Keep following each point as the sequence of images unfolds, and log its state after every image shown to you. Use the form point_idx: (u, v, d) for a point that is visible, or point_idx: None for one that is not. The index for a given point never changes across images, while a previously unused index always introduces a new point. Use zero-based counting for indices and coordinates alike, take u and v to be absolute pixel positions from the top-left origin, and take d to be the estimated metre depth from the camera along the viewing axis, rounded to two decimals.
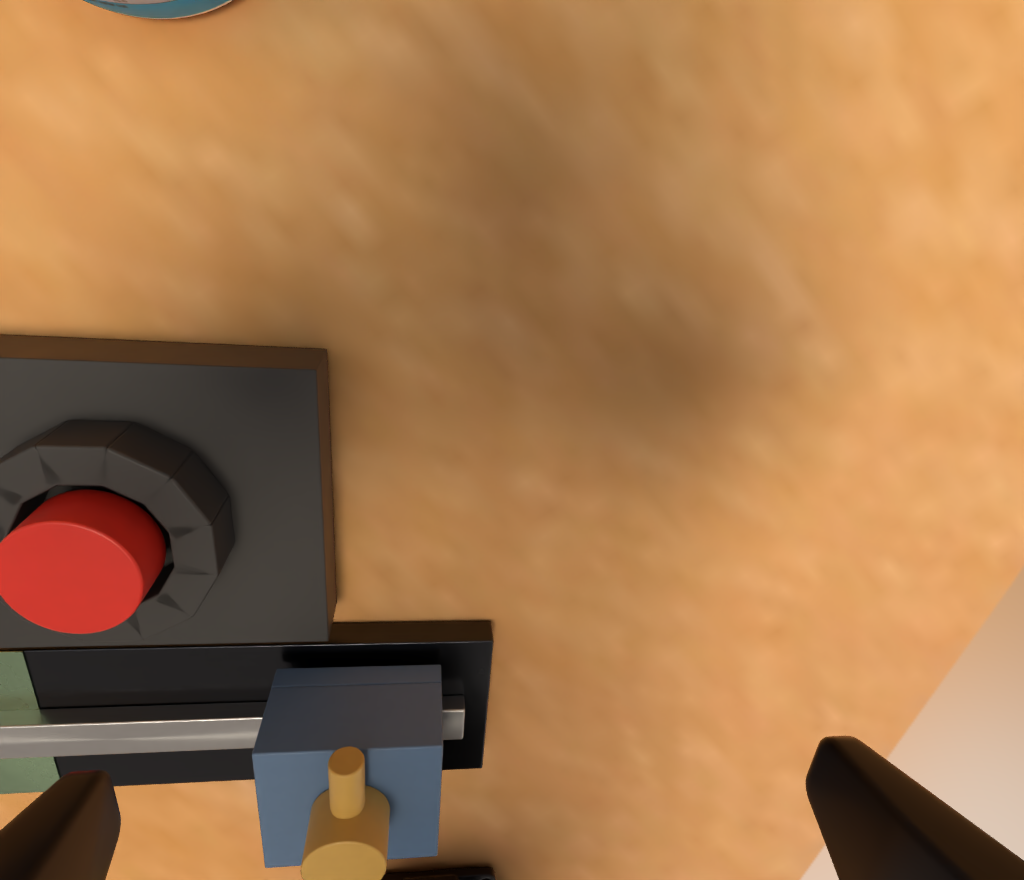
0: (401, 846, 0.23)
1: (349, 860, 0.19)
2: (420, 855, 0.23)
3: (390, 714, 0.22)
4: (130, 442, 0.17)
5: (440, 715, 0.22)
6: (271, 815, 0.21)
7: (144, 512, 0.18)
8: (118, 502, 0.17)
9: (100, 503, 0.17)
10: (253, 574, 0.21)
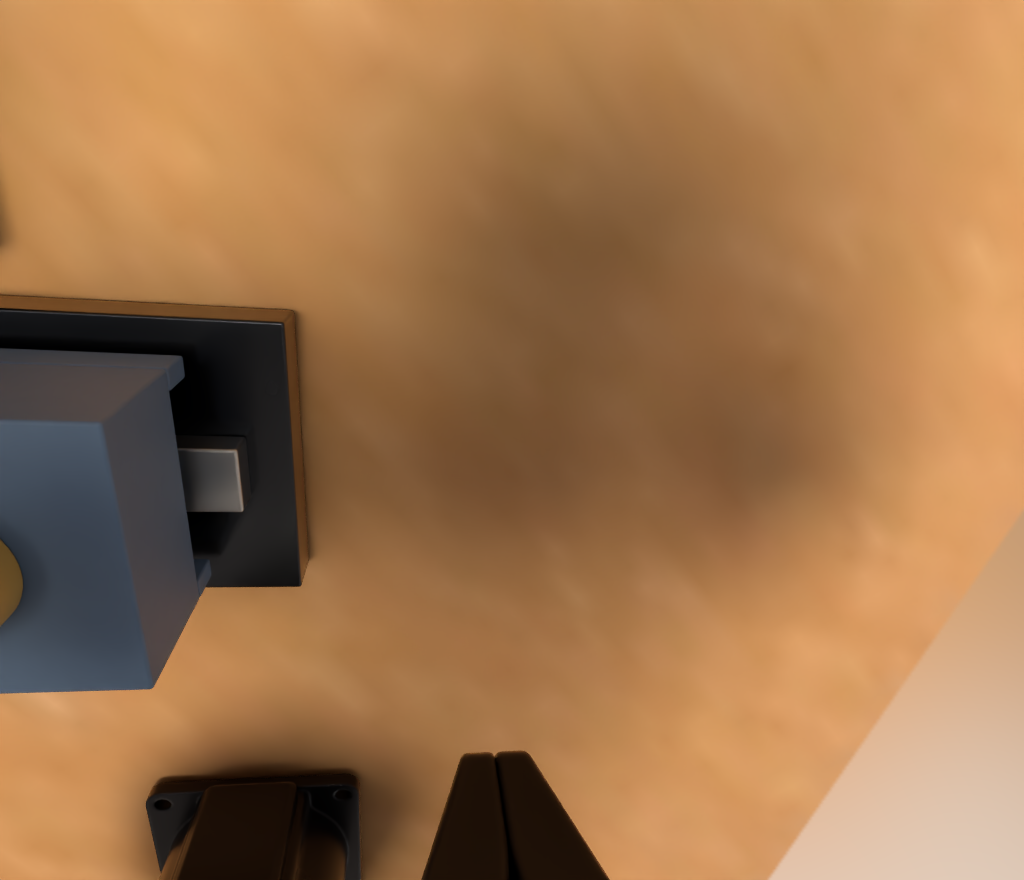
0: (73, 663, 0.12)
1: None
2: (117, 685, 0.12)
3: (27, 389, 0.11)
4: None
5: (130, 395, 0.11)
6: None
7: None
8: None
9: None
10: None
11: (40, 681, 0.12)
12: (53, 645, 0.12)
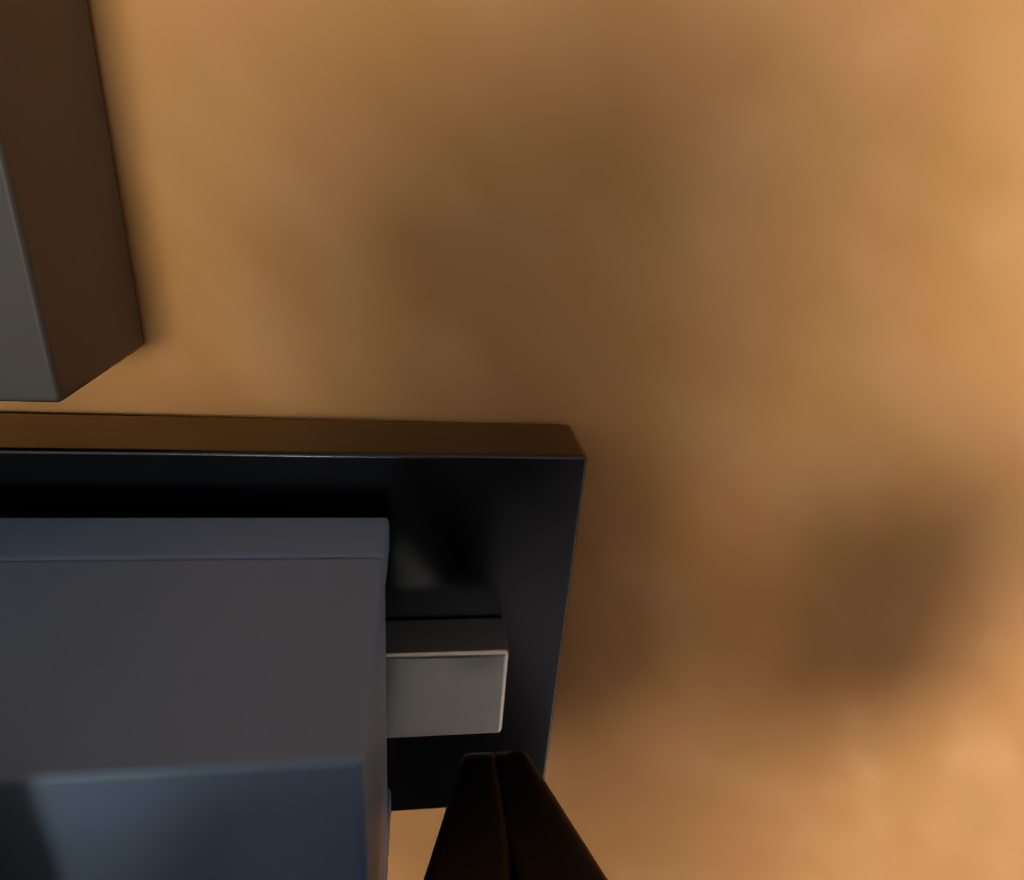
0: None
1: None
2: None
3: (182, 645, 0.06)
4: None
5: (368, 648, 0.06)
6: None
7: None
8: None
9: None
10: None
11: None
12: None
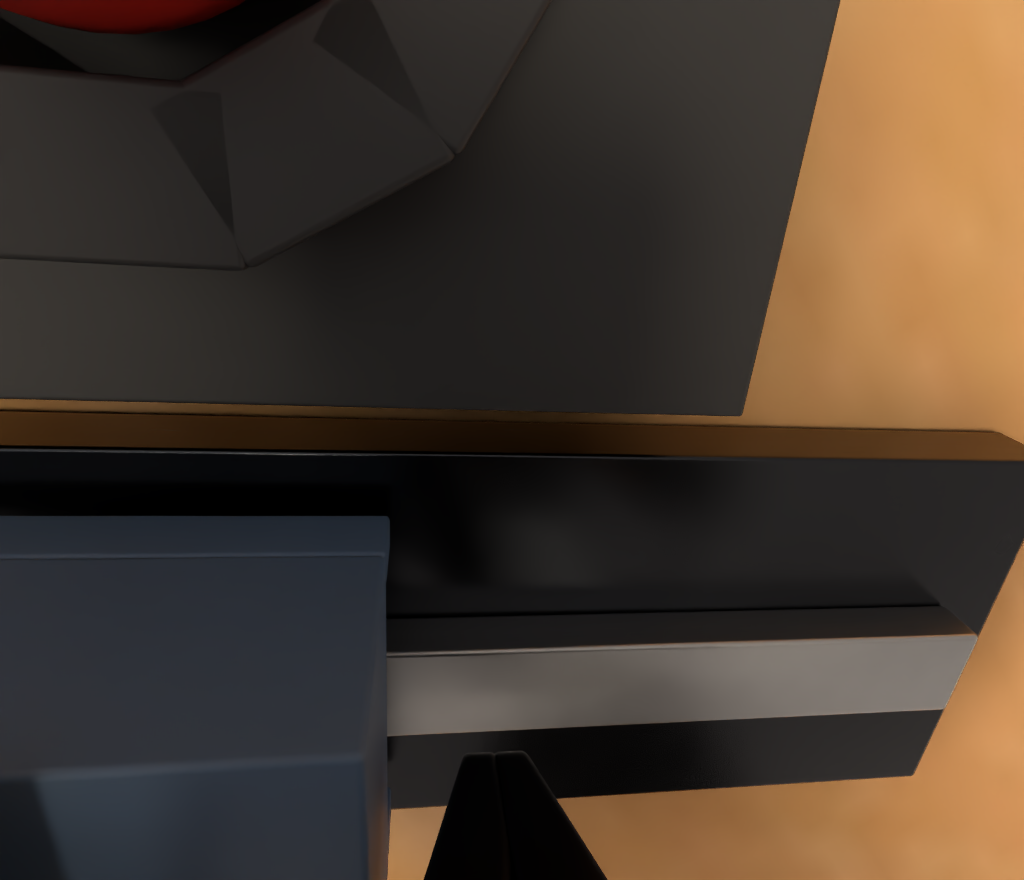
0: None
1: None
2: None
3: (183, 643, 0.06)
4: None
5: (369, 645, 0.06)
6: None
7: None
8: None
9: None
10: (587, 139, 0.06)
11: None
12: None
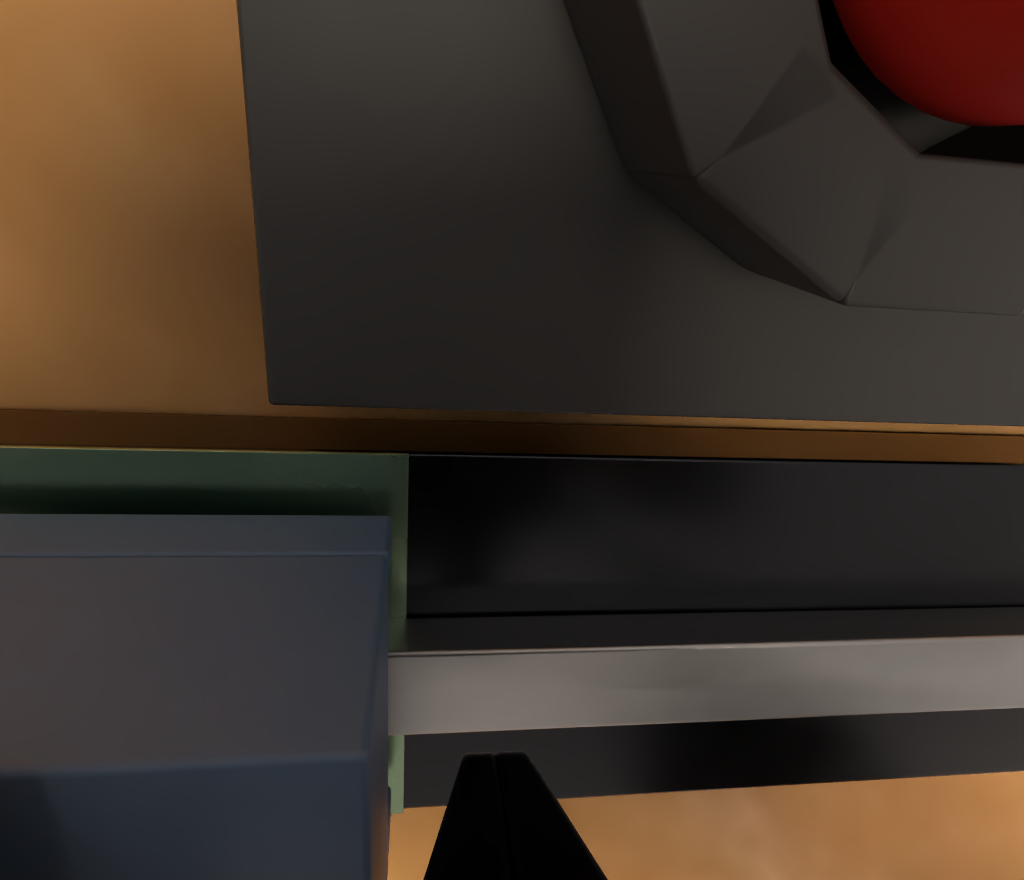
0: None
1: None
2: None
3: (188, 641, 0.06)
4: None
5: (372, 644, 0.06)
6: None
7: None
8: None
9: None
10: None
11: None
12: None
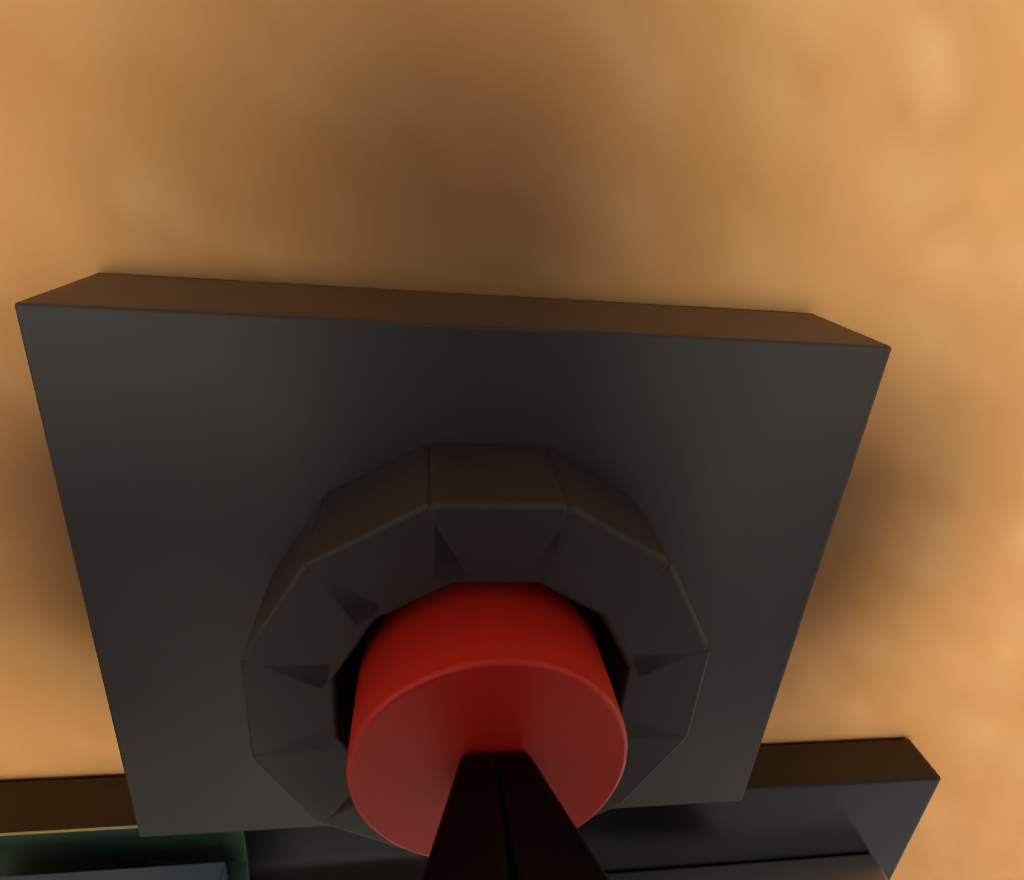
0: None
1: None
2: None
3: None
4: (579, 491, 0.09)
5: None
6: None
7: (581, 615, 0.09)
8: (552, 599, 0.09)
9: (536, 607, 0.08)
10: None
11: None
12: None
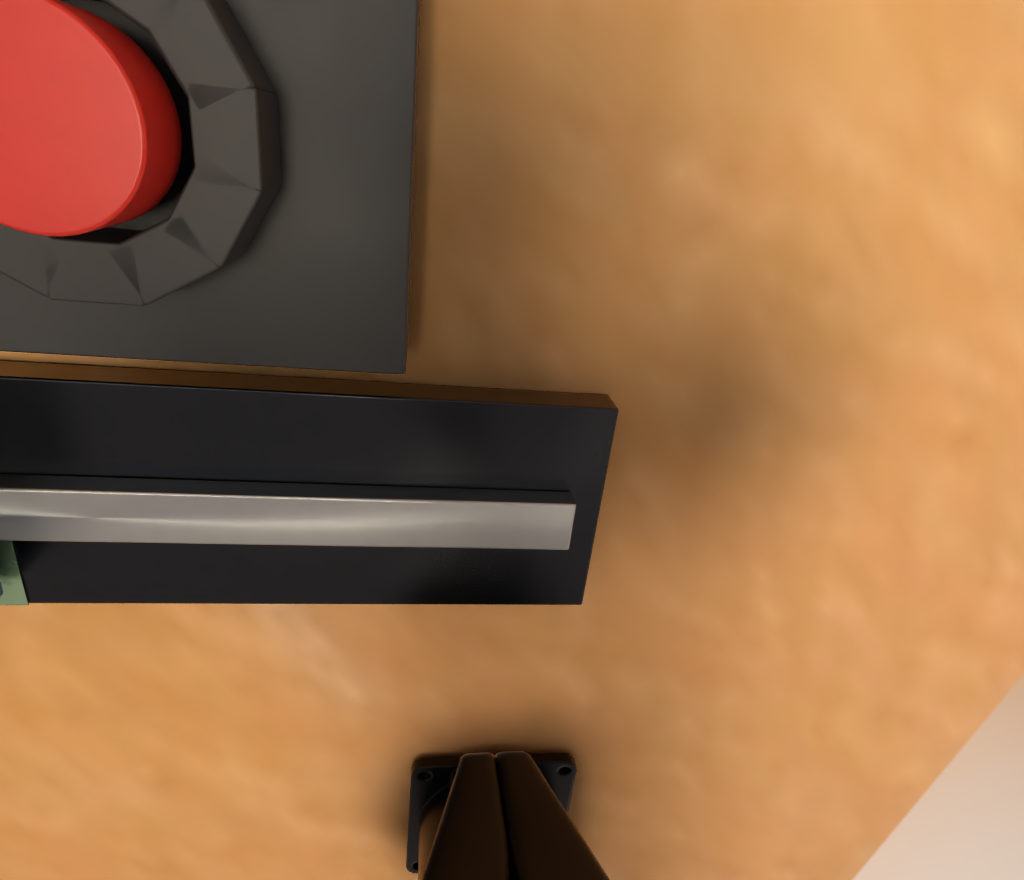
0: None
1: None
2: None
3: None
4: None
5: None
6: None
7: (149, 59, 0.11)
8: (107, 23, 0.11)
9: (78, 8, 0.10)
10: (305, 247, 0.14)
11: None
12: None
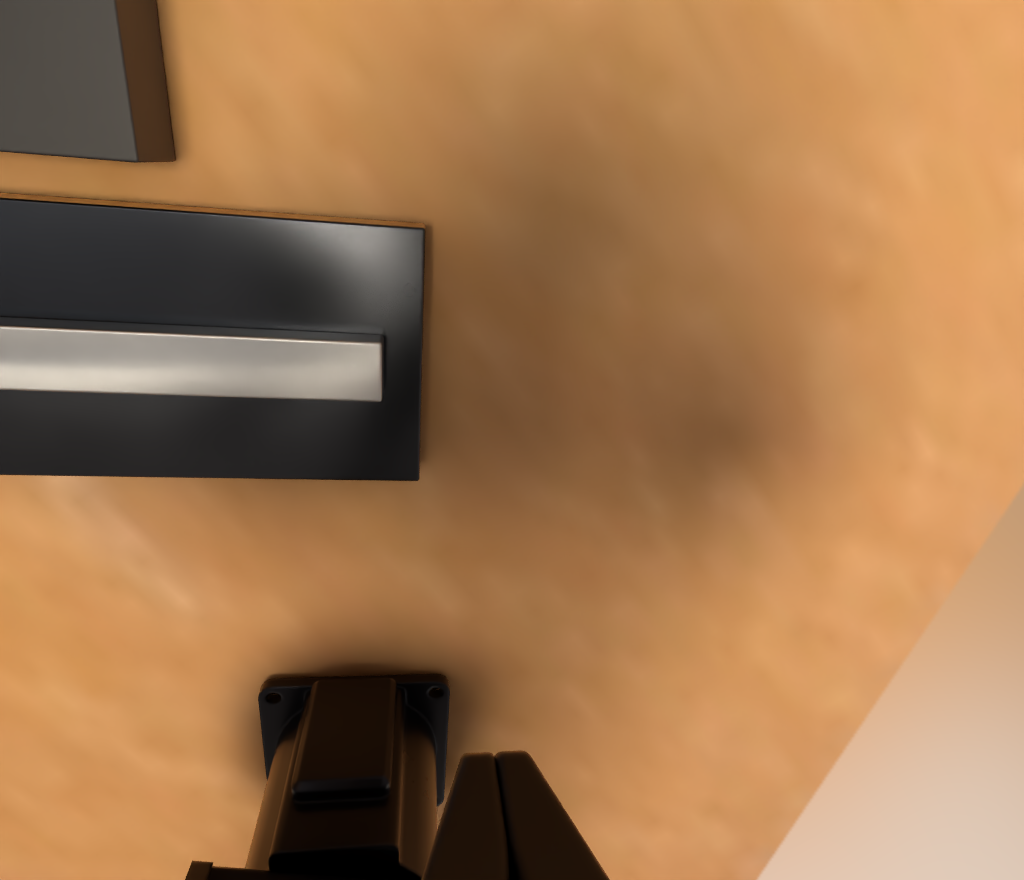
0: None
1: None
2: None
3: None
4: None
5: None
6: None
7: None
8: None
9: None
10: None
11: None
12: None
